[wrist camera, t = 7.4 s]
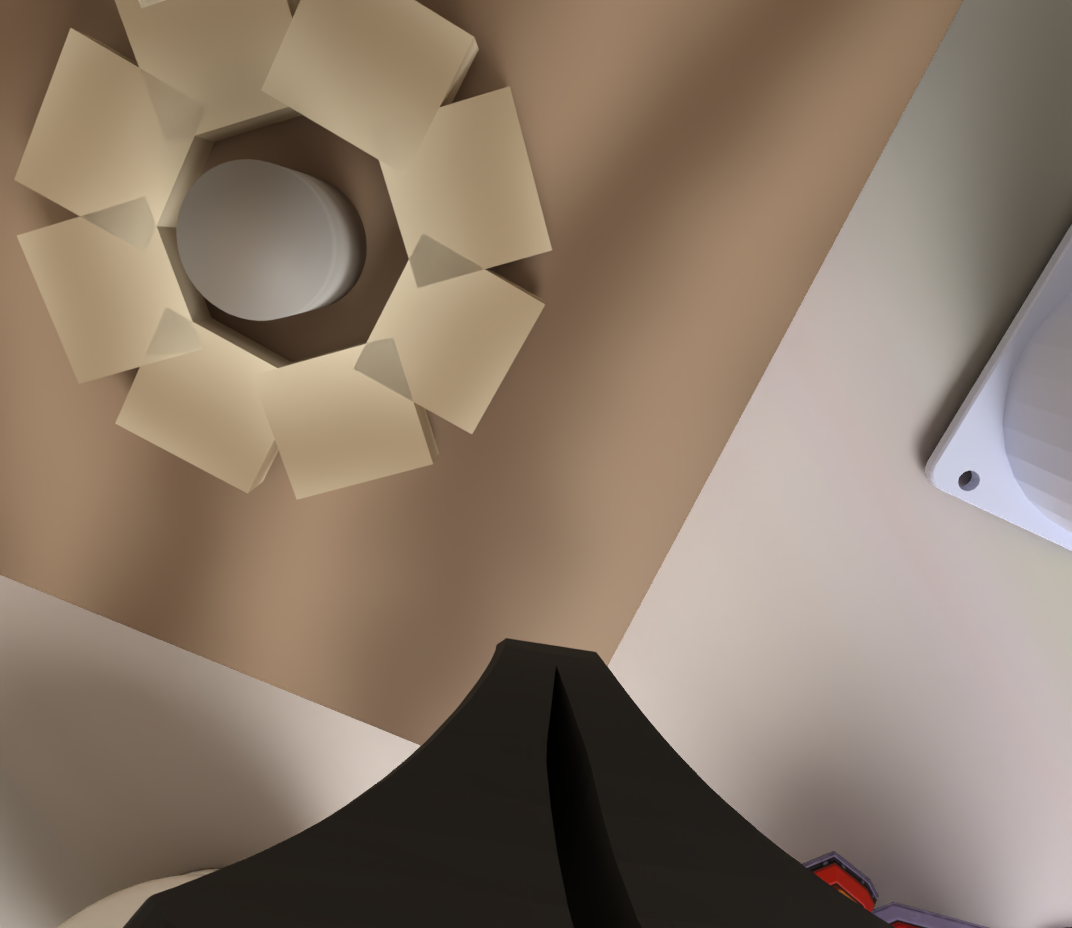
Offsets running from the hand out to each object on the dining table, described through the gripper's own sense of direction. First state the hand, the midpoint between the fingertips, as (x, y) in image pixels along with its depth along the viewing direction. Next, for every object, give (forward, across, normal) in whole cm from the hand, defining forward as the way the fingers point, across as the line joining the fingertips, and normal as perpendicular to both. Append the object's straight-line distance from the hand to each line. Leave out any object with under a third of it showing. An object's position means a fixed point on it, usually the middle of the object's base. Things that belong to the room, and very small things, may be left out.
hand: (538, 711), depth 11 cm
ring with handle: (+9, +7, -7) cm, 14 cm away
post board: (+10, +6, -5) cm, 13 cm away
